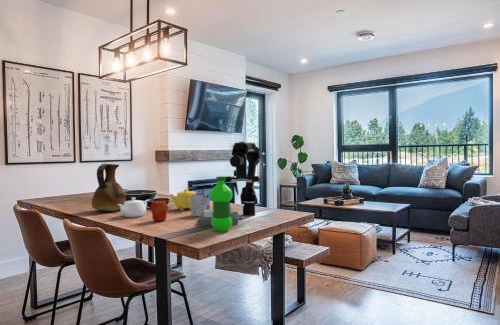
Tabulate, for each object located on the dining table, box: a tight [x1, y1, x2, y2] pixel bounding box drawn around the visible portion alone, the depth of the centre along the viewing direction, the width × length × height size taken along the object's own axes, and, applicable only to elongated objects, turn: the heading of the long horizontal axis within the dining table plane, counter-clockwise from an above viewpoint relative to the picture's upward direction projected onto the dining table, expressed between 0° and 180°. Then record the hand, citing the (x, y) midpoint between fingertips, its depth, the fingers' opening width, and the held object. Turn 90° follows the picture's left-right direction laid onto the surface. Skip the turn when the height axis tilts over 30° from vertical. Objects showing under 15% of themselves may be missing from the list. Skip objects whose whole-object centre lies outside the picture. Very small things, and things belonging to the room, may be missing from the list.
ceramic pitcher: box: [91, 163, 127, 212], centre depth 221 cm, size 20×20×30 cm
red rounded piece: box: [150, 200, 169, 222], centre depth 188 cm, size 9×8×12 cm
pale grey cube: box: [204, 209, 213, 217], centre depth 180 cm, size 4×4×4 cm
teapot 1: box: [117, 196, 148, 218], centre depth 203 cm, size 22×14×11 cm, turn 153°
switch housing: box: [197, 211, 239, 226], centre depth 184 cm, size 20×16×4 cm
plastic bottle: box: [209, 175, 234, 232], centre depth 164 cm, size 10×10×25 cm
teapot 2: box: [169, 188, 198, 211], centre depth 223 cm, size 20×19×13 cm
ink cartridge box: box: [190, 189, 211, 217], centre depth 202 cm, size 10×6×14 cm, turn 78°
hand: (241, 195), depth 188 cm, fingers open, 4 cm apart
